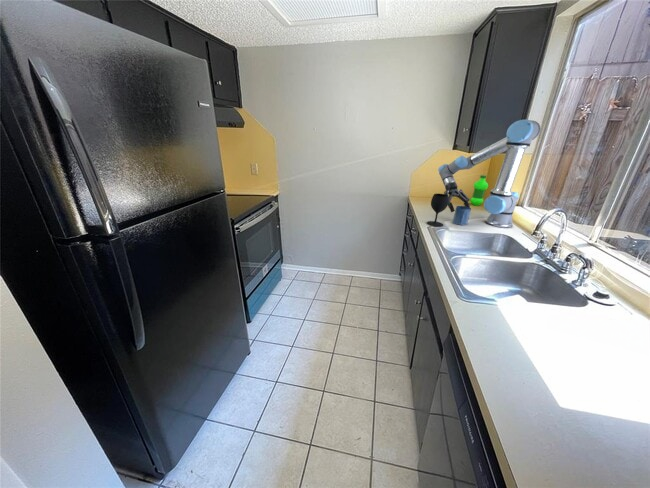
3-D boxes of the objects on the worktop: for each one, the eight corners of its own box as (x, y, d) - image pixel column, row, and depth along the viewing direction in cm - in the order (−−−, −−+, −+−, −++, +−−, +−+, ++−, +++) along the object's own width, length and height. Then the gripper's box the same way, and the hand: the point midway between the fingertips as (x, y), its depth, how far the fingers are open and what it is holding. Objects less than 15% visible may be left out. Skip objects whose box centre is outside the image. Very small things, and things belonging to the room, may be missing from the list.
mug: (452, 220, 183) (456, 205, 179) (466, 222, 180) (470, 206, 176) (453, 225, 173) (456, 209, 168) (467, 227, 170) (472, 211, 165)
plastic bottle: (466, 203, 229) (473, 174, 219) (477, 203, 230) (485, 174, 220) (473, 206, 220) (481, 176, 210) (484, 206, 221) (493, 176, 211)
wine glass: (444, 227, 169) (451, 197, 161) (428, 225, 170) (434, 196, 162) (441, 222, 178) (447, 193, 170) (425, 221, 180) (431, 192, 172)
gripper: (460, 187, 190) (471, 212, 183) (432, 188, 183) (442, 214, 176) (468, 181, 183) (479, 207, 176) (439, 182, 176) (450, 209, 169)
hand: (461, 211), depth 176 cm, fingers open, 13 cm apart
